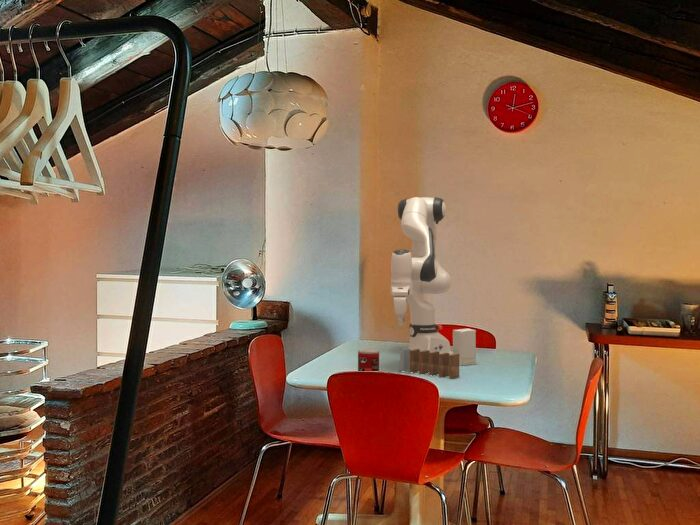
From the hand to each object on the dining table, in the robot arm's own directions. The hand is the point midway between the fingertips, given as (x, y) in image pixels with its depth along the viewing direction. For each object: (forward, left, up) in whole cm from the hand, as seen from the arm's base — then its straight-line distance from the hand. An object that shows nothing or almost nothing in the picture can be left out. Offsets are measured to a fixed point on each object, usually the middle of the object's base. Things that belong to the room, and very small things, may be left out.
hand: (401, 324), depth 289 cm
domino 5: (-8, +18, -19) cm, 28 cm away
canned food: (+20, +9, -19) cm, 29 cm away
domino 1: (-1, +2, -19) cm, 19 cm away
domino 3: (-5, +10, -19) cm, 22 cm away
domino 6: (-10, +22, -19) cm, 31 cm away
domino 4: (-7, +14, -19) cm, 24 cm away
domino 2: (-3, +6, -19) cm, 20 cm away
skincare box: (-31, 0, -19) cm, 36 cm away
